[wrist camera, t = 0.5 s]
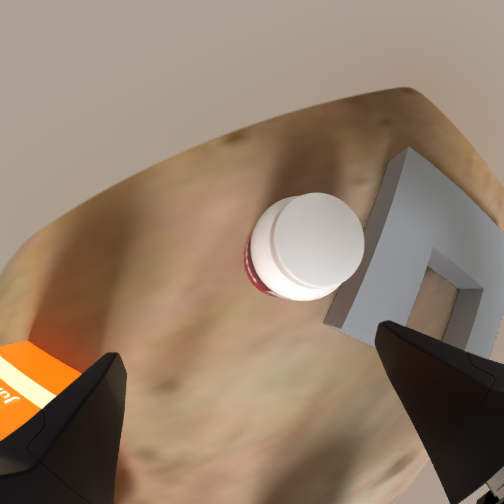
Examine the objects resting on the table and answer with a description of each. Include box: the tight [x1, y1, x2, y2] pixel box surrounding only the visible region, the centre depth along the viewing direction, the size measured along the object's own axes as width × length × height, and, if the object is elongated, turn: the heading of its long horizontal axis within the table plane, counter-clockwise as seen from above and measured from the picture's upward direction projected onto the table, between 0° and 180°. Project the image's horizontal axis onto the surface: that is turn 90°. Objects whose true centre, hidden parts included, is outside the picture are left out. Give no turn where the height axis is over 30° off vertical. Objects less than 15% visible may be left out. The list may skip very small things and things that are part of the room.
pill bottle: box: [243, 193, 365, 301], centre depth 19 cm, size 6×6×11 cm
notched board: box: [323, 146, 504, 359], centre depth 24 cm, size 18×20×4 cm
